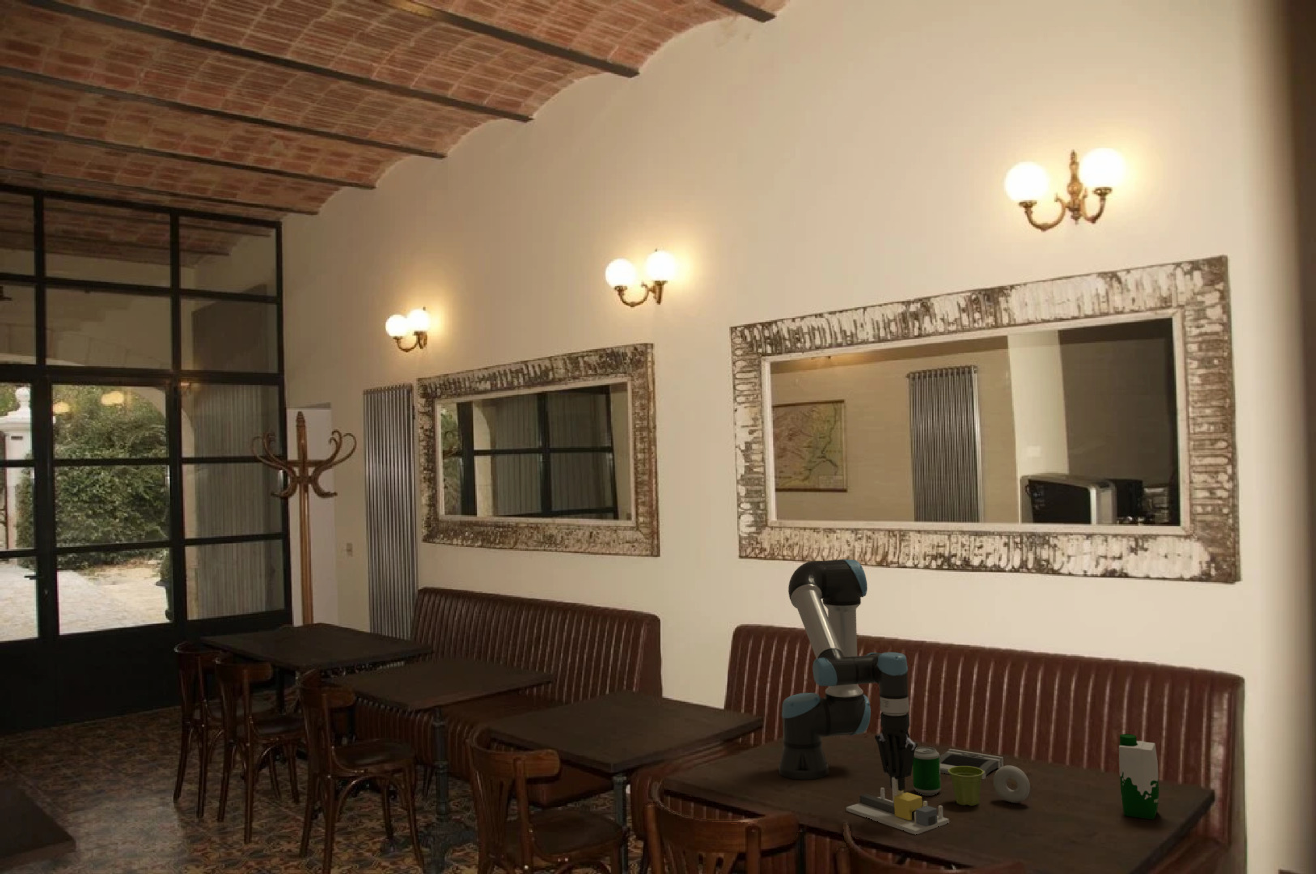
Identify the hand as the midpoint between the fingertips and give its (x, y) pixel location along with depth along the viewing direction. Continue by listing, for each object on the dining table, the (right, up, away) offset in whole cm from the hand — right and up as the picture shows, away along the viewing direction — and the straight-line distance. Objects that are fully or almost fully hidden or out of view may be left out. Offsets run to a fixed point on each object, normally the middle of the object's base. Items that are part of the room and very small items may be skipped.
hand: (898, 801), depth 270 cm
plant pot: (+21, -4, +10) cm, 24 cm away
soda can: (+13, -5, +20) cm, 24 cm away
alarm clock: (+30, -5, +41) cm, 51 cm away
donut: (+33, -4, +8) cm, 35 cm away
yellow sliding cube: (+2, -3, -3) cm, 4 cm away
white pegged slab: (0, -4, +1) cm, 4 cm away
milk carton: (+63, -2, -4) cm, 63 cm away
